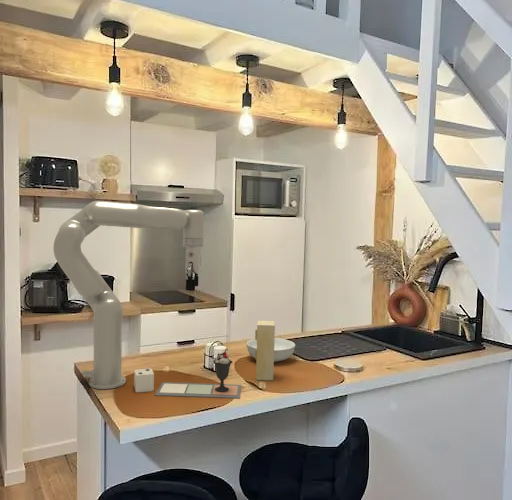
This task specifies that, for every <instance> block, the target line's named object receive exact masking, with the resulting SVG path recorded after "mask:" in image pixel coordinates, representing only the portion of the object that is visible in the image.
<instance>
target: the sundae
mask: <svg viewBox="0 0 512 500" xmlns="http://www.w3.org/2000/svg"><path fill="white" fill-rule="evenodd" d="M227 351H228V348H226V349H225V350H224V351H223V352H222V353H219V352H218V353H217V356H216V359H213V360H212V362H213V364H214V366H215V373H216V377H217V379H218V380H219V381H220V383H219V384H220V386H219V387H216V388H215V391H217V392H227V391H228V390H229V388H227V387H225V386H224V384H225V383H224V382H225V380H227V378H228V377H229V372H230V367H231V364H233V361H232V360H231V359H229V356H228V354H227Z"/></svg>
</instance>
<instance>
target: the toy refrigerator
mask: <svg viewBox="0 0 512 500" xmlns="http://www.w3.org/2000/svg"><path fill="white" fill-rule="evenodd" d="M254 330H255V332H254V333H255V337H254V339H255V340H257V350H255V358H254V359H255V361H256V365H255V367H256V368H255V370H256V371H255V380H256V381H274V374H275V373H274V369H275V364H274V363H275V362H274V338H276V336H275V334H276V333H275V330H276V324H275V320H257V324H256V329H254Z"/></svg>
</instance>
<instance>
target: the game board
mask: <svg viewBox="0 0 512 500" xmlns="http://www.w3.org/2000/svg"><path fill="white" fill-rule="evenodd" d="M219 386H220V383H199V382H197V383H196V382H173V381H171V382H166V381H162V382H161V384H160V385H159V387H158V389H157V390H156V392H155V394H154V396H155V397H181V398H182V397H183V398H185V397H186V398H187V397H188V398H189V397H190V398H211V399H212V398H215V399H216V398H217V399H240V398H241V390H242V384H233V383H232V384H230V383H224V386H225V387H227V388H229V390H228V391H227V392H217V391H215V388H216V387H219Z"/></svg>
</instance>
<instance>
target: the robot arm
mask: <svg viewBox="0 0 512 500" xmlns="http://www.w3.org/2000/svg"><path fill="white" fill-rule="evenodd" d="M204 214H205V213H204V212H203V210H200V209H186V210H184V209H180V208H175V207H174V208H172V207H171V208H169V207H160V206H159V207H158V206H149V205H143V204H140V203H129V202H117V201H106V200H94V201H91V202H89V203H88V204H87V205H85V207H83V208H82V209H81V210H79V211H78V212H76V213H75V214H74V215H73V216H72V217H70V218H69V219H68V220H66V221H64V222H63V223H62V224H61V225H60V226H59V228H58V231H57V233H56V235H55V238H54V240H53V255H54V257H55V261H56V263H57V264H58V265H59V267H60V268H61V270H62V272H64V274H65V276H66V277H67V278H68V279H69V281H70V282H71V283H72V285H73V286H74V288H75V290H76V292H77V293H78V294H79V295H80V296H82V298H83V299H84V301H85V302H86V303H87V304H88V306H89V307H90V308H91V310H92V311H93V369H92V370H82V372H81V374H82V377H83V378H84V379H87V378H88V379H89V380H88V385H89V387H91V388H94V389H97V390H98V389H99V390H107V389H108V390H110V389H116V388H119V387H122V386H123V385H125V384H126V381H127V379H126V377H125V376H124V375H122V350H123V349H122V345H123V344H122V340H123V339H122V336H123V335H122V334H123V333H122V332H123V331H122V330H123V329H122V328H123V327H122V326H123V318H124V317H123V316H124V313H123V310H124V309H123V305H122V303H121V301H120V300H119V298H118V297H117V295H116V294H115V292H113V290H112V289H111V287H110V285H108V284H107V282H106V281H105V279H104V278H103V276H102V275H101V274H100V272H99V271H97V270H96V269H95V268H94V267H93V266H92V264H91V263H90V262H89V260H88V259H87V256H85V254H84V253H83V252H82V247H81V246H82V243H83V242H84V240H85V239H86V237H87V236H89V235H91V233H93V232H94V231H95V230H96V229H98V228H99V227H100V226H103V227H105V226H106V227H108V226H109V227H117V228H118V227H120V228H131V229H133V228H134V229H157V230H174V231H179V230H182V229H183V231H182V233H183V234H182V247H183V248H185V255H184V257H185V261H184V262H185V263H184V264H185V266H184V267H185V269H184V270H185V274H186V278H185V291H191V292H192V291H195V289H196V288H195V287H198V286H199V274H200V272H202V251H201V250H202V248H204V232H205V231H204V229H205V228H204V224H205V223H204V222H205V221H204V220H205V218H204V216H205V215H204Z"/></svg>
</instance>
